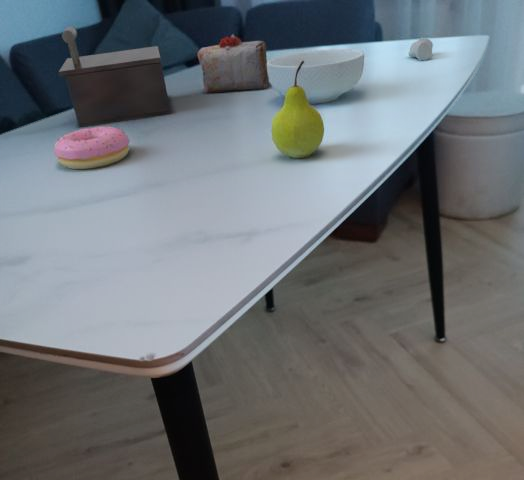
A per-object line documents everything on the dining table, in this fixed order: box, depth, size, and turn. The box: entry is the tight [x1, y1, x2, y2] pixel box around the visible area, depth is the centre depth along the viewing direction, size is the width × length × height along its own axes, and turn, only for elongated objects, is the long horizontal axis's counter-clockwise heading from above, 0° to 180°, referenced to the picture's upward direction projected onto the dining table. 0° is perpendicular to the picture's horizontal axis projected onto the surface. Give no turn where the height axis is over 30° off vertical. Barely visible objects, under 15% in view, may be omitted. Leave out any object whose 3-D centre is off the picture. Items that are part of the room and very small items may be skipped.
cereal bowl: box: [267, 48, 365, 105], centre depth 105 cm, size 17×17×7 cm
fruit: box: [270, 61, 325, 159], centre depth 77 cm, size 7×7×12 cm
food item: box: [197, 33, 270, 94], centre depth 118 cm, size 14×8×10 cm, turn 81°
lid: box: [58, 26, 162, 78], centre depth 107 cm, size 18×16×6 cm
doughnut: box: [53, 125, 130, 170], centre depth 88 cm, size 11×11×4 cm
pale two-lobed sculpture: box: [408, 37, 434, 62], centre depth 127 cm, size 4×8×5 cm
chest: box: [64, 61, 172, 128], centre depth 112 cm, size 17×16×9 cm
